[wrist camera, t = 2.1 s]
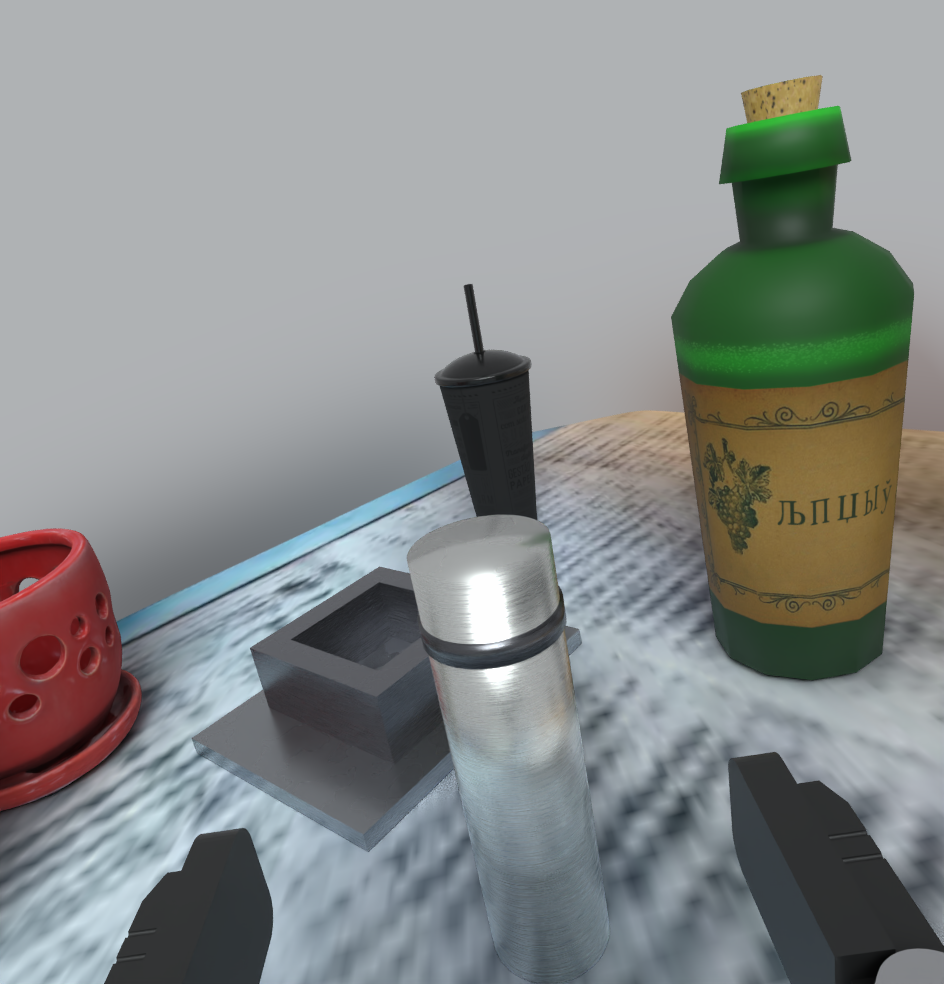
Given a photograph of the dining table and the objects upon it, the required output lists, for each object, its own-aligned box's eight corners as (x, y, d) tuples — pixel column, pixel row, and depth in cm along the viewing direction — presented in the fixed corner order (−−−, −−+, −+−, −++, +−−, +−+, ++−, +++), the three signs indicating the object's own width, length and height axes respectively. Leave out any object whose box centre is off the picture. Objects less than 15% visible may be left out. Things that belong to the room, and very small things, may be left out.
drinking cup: (566, 531, 62) (530, 277, 55) (474, 554, 61) (426, 298, 54) (539, 500, 69) (504, 272, 62) (457, 520, 68) (411, 291, 61)
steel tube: (534, 860, 32) (467, 507, 26) (634, 908, 29) (582, 523, 23) (465, 946, 29) (372, 566, 23) (569, 1011, 26) (491, 593, 20)
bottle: (704, 702, 39) (655, 100, 30) (692, 598, 49) (653, 118, 39) (937, 699, 37) (967, 36, 27) (876, 589, 46) (883, 71, 37)
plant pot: (33, 690, 53) (-38, 532, 49) (198, 689, 49) (137, 518, 45) (-148, 840, 41) (-261, 648, 37) (51, 852, 37) (-49, 642, 33)
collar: (414, 600, 55) (400, 537, 53) (581, 643, 46) (570, 569, 45) (197, 752, 43) (169, 677, 41) (368, 852, 34) (342, 760, 32)
